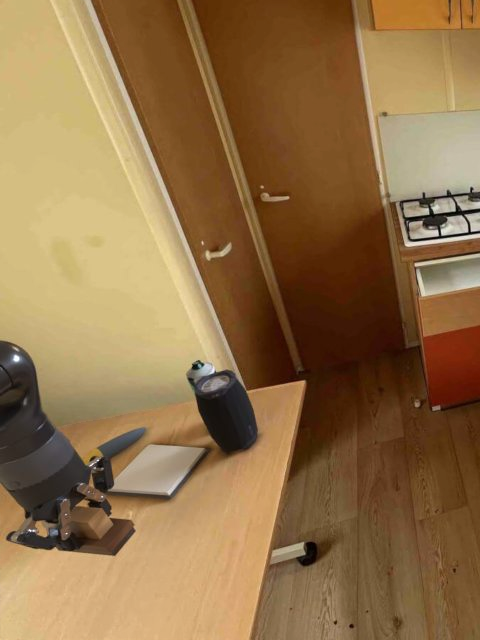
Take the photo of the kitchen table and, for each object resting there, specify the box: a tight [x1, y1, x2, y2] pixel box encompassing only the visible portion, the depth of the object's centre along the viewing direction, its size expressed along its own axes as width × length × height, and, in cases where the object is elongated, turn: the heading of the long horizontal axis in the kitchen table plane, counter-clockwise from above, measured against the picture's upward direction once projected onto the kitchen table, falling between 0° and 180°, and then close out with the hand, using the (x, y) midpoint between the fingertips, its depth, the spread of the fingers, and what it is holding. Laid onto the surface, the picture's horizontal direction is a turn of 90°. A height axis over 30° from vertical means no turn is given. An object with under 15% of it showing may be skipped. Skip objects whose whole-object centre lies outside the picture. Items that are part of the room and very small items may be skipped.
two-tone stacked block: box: [55, 505, 137, 557], centre depth 69 cm, size 4×10×8 cm, turn 86°
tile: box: [106, 443, 211, 500], centre depth 95 cm, size 15×12×2 cm
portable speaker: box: [194, 368, 259, 455], centre depth 98 cm, size 9×9×20 cm
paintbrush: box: [81, 426, 147, 465], centre depth 96 cm, size 20×5×5 cm, turn 158°
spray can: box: [185, 359, 217, 395], centre depth 103 cm, size 6×6×20 cm
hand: (90, 531), depth 69 cm, fingers closed on two-tone stacked block, 4 cm apart
